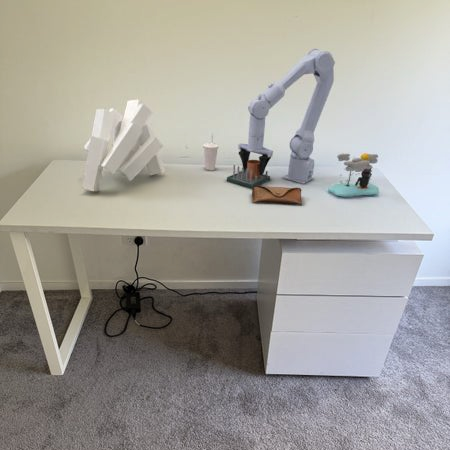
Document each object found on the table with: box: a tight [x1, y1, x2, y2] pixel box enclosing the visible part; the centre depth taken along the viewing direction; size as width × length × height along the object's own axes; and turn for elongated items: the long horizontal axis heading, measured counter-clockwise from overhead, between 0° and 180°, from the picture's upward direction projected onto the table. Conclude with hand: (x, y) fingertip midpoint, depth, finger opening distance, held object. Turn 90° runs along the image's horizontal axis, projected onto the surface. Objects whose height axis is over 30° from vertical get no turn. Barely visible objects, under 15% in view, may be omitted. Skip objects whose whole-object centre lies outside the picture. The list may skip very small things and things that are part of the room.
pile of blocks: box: [81, 98, 166, 192], centre depth 143 cm, size 35×30×35 cm
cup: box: [247, 159, 260, 179], centre depth 150 cm, size 5×5×6 cm
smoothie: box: [202, 133, 219, 171], centre depth 158 cm, size 6×6×14 cm
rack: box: [226, 164, 271, 190], centre depth 150 cm, size 12×13×6 cm
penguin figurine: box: [327, 152, 380, 198], centre depth 141 cm, size 20×11×15 cm, turn 101°
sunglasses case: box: [251, 185, 303, 206], centre depth 137 cm, size 18×7×7 cm
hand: (253, 171), depth 151 cm, fingers open, 7 cm apart
